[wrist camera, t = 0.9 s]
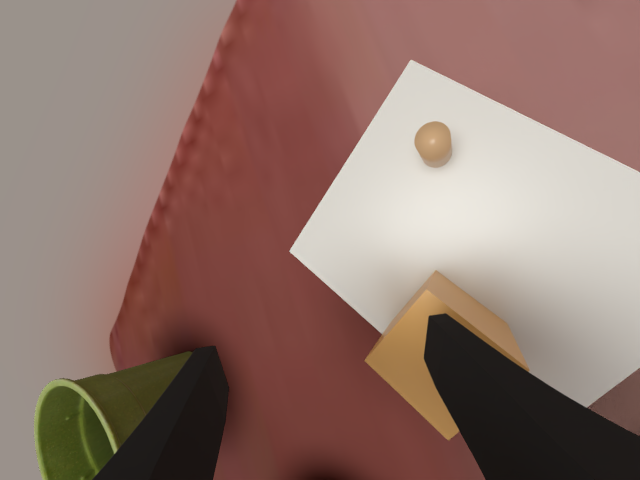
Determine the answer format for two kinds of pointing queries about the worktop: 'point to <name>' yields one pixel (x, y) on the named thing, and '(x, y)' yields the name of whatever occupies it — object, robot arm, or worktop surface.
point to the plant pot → (95, 416)
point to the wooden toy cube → (410, 336)
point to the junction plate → (488, 229)
